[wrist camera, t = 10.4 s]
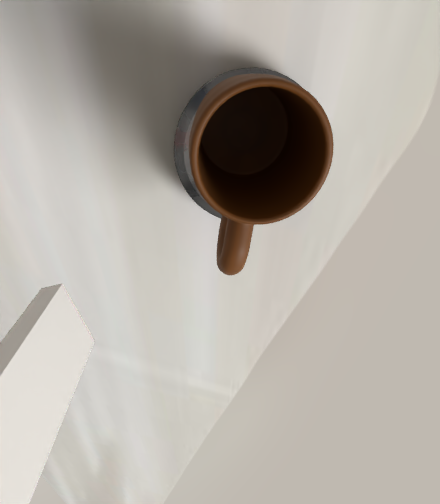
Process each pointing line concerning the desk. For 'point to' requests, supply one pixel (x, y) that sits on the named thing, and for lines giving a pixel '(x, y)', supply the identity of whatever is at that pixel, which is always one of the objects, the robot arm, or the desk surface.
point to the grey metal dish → (185, 128)
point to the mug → (257, 156)
